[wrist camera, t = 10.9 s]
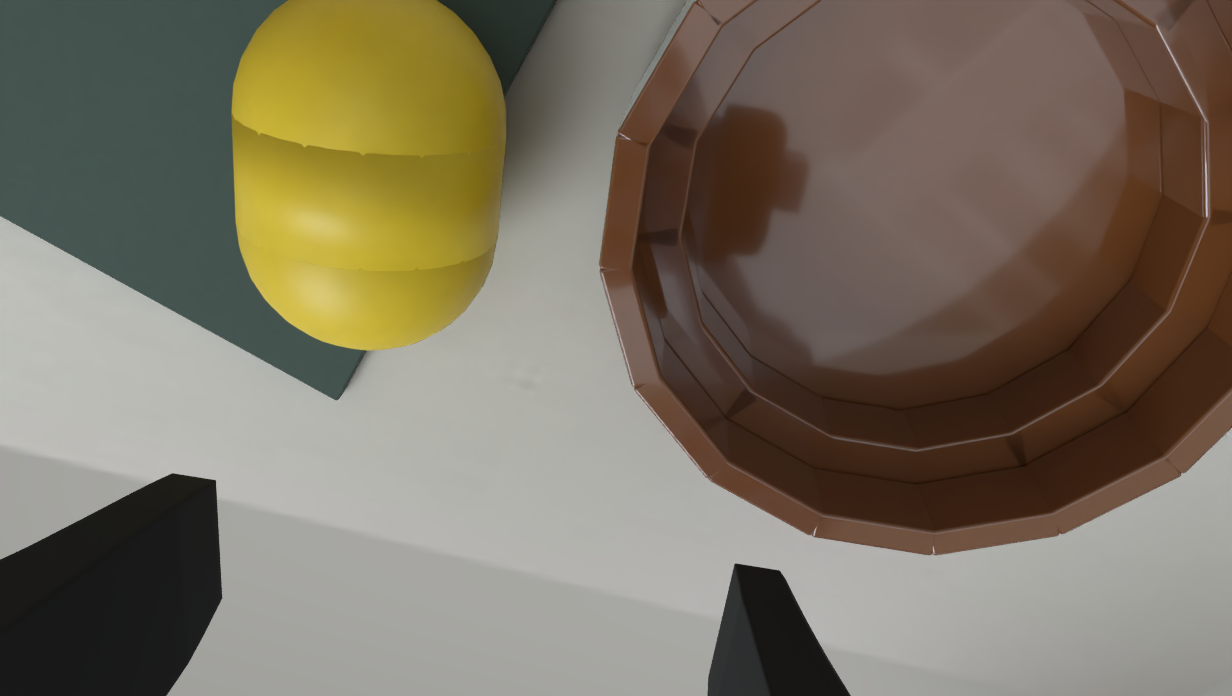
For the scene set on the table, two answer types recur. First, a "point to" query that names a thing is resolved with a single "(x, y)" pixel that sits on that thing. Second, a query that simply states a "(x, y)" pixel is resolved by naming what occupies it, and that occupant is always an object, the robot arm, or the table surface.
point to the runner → (166, 151)
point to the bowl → (931, 257)
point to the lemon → (367, 167)
